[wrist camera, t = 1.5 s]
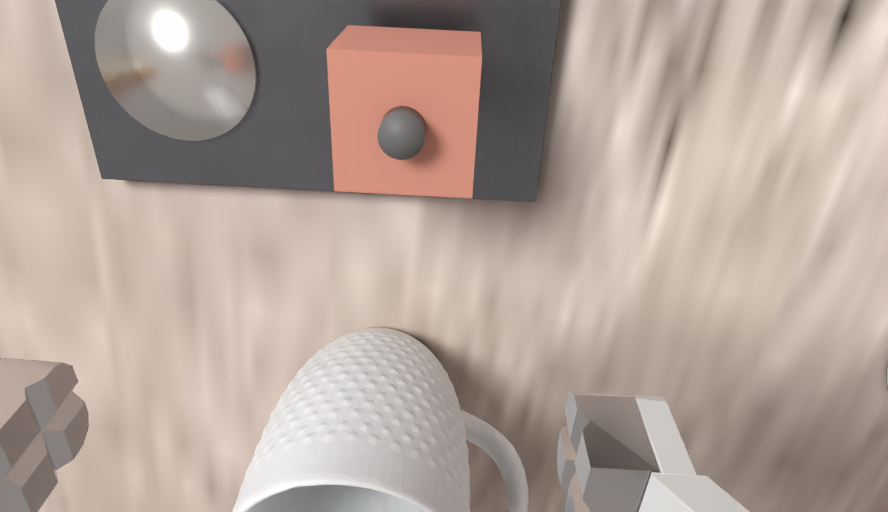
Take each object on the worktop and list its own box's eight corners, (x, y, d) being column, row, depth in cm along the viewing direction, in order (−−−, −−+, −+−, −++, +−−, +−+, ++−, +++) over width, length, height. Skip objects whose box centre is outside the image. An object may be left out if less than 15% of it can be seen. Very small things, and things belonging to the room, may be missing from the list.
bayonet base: (566, -69, 26) (595, -56, 20) (533, 191, 32) (548, 264, 26) (47, -94, 26) (-83, -88, 20) (113, 169, 32) (29, 235, 26)
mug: (557, 353, 38) (593, 551, 26) (483, 466, 43) (487, 671, 32) (322, 270, 35) (252, 449, 24) (275, 401, 40) (199, 597, 29)
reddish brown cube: (480, 31, 24) (482, 63, 20) (472, 156, 27) (472, 210, 22) (348, 25, 24) (320, 55, 20) (352, 150, 27) (329, 202, 22)
